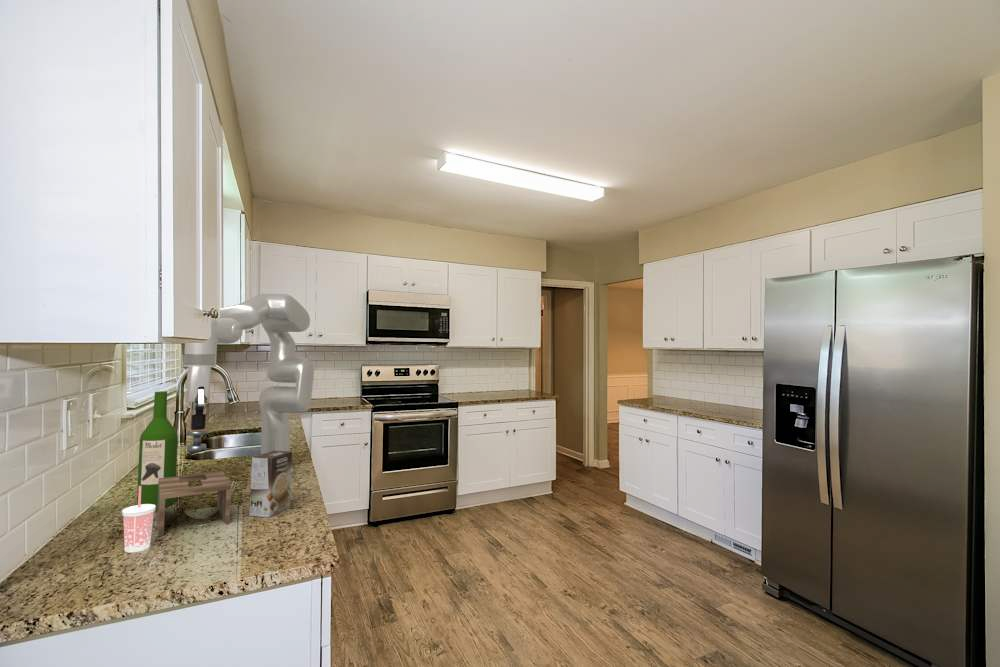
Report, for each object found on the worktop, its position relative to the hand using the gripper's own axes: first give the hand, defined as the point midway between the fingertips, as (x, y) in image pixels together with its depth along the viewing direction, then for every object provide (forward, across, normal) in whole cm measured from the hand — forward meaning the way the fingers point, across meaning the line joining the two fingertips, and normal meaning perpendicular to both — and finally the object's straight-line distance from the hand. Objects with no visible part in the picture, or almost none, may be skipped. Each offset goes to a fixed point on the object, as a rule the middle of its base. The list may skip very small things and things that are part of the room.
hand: (197, 427), depth 129 cm
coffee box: (+24, +8, +18) cm, 31 cm away
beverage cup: (+24, +18, -12) cm, 32 cm away
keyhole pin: (+6, 0, 0) cm, 6 cm away
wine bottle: (+24, -16, -8) cm, 29 cm away
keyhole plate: (+24, +4, 0) cm, 24 cm away
